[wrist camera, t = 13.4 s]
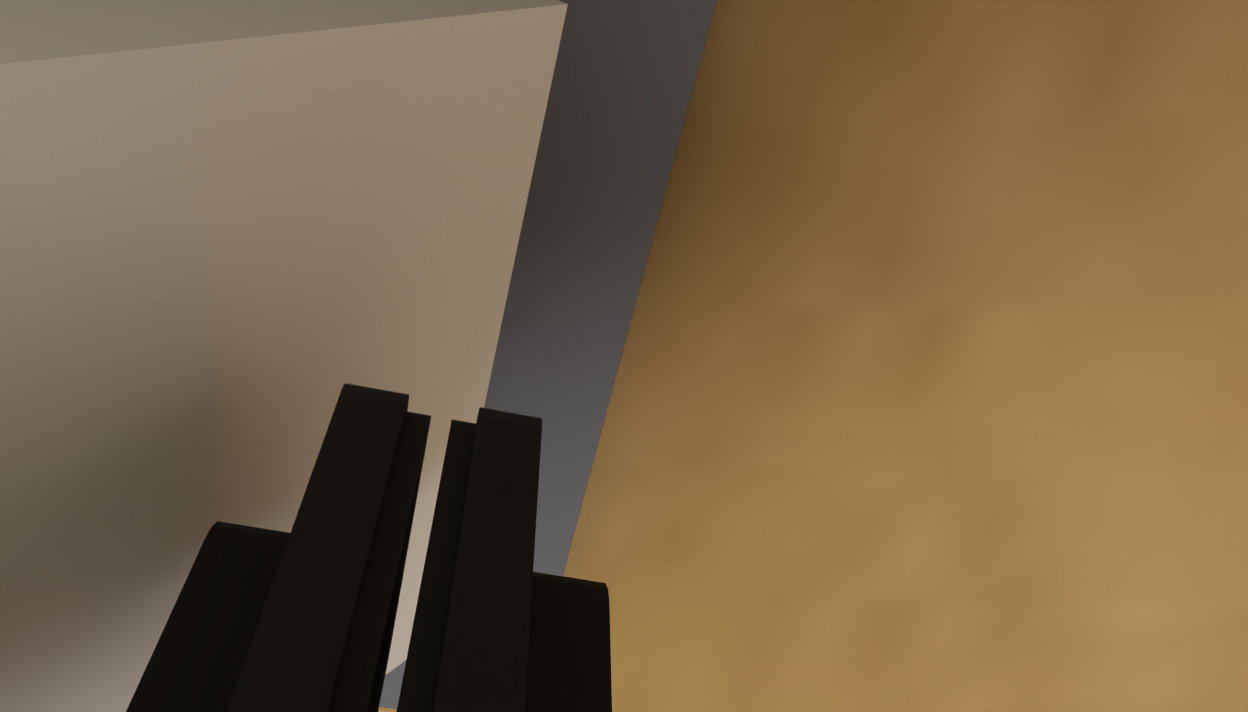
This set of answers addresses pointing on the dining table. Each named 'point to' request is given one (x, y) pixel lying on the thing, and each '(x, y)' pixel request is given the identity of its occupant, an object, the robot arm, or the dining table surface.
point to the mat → (588, 238)
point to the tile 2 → (233, 283)
